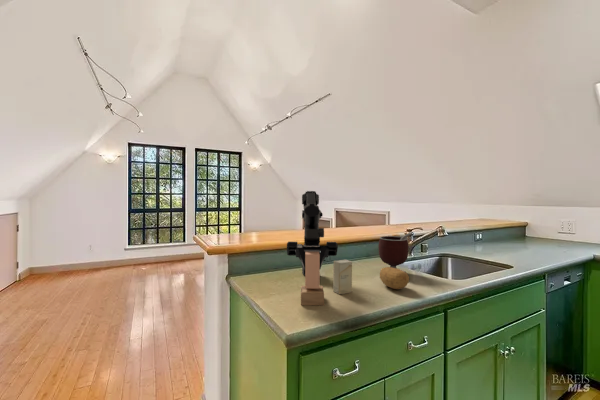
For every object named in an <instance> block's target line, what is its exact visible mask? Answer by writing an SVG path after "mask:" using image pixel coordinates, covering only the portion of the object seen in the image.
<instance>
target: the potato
mask: <svg viewBox="0 0 600 400" xmlns="http://www.w3.org/2000/svg"><path fill="white" fill-rule="evenodd" d="M380 270H381V271H379V279H380V280H381V282H382V284H383V285H384V286H386V287H389V288H391V289H393V290H401V289H404V288H406V287H407V285H408V284H409V282H410V276H409V274H408V273H407V272H406V271H405V270H403V269H400V268H397V267H396V268H392V267H390V266H386V267H382V268H381V269H380ZM402 270H403V271H402ZM404 271H405V272H406V273H405V272H404Z"/></svg>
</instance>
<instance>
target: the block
mask: <svg viewBox="0 0 600 400" xmlns="http://www.w3.org/2000/svg"><path fill="white" fill-rule="evenodd" d="M320 270H321V269H320V254H319V252H316V251H305V275H304V286H305V288H320V286H321V285H320V281H321V280H320V275H321V274H320V272H321V271H320Z"/></svg>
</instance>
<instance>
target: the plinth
mask: <svg viewBox="0 0 600 400" xmlns="http://www.w3.org/2000/svg"><path fill="white" fill-rule="evenodd" d="M300 305H301V306H325V291H324V286H323V285H320V288H305V285H301V286H300Z"/></svg>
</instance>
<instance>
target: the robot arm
mask: <svg viewBox="0 0 600 400" xmlns="http://www.w3.org/2000/svg"><path fill="white" fill-rule="evenodd" d="M319 203H320V195H319V194H318V193H317V191H314V190H306V191H305V193H303V194H301V204H302V205H303V206H302V207H303V210H301V215H302V216H301V219H303V221H304V230H303V231H304V234H303V235H304V236H303V241H304V242H303V244H302V243H299V242H298V241H288V242H287V243H286V254H287V256H295V257H296V258H298V259H299V261H300V262H301V265H302V266H301V268H302V269H301V270H302V272H301V273H302V274H303V276H305V251H316V252H319V254H320V270H321V269H322V266H323V263H324V261H325V259H326V258H328V257H330V256H332V257H335V256H337V255H338V249H339V247H338V243H337V241H326V245H320V244H321V238H324V237H325V228H324V227H320V225H319V224H320V220H321V219H322V217H323V215H324V214H323V213H322V211H321V210H320V206H319Z"/></svg>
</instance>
